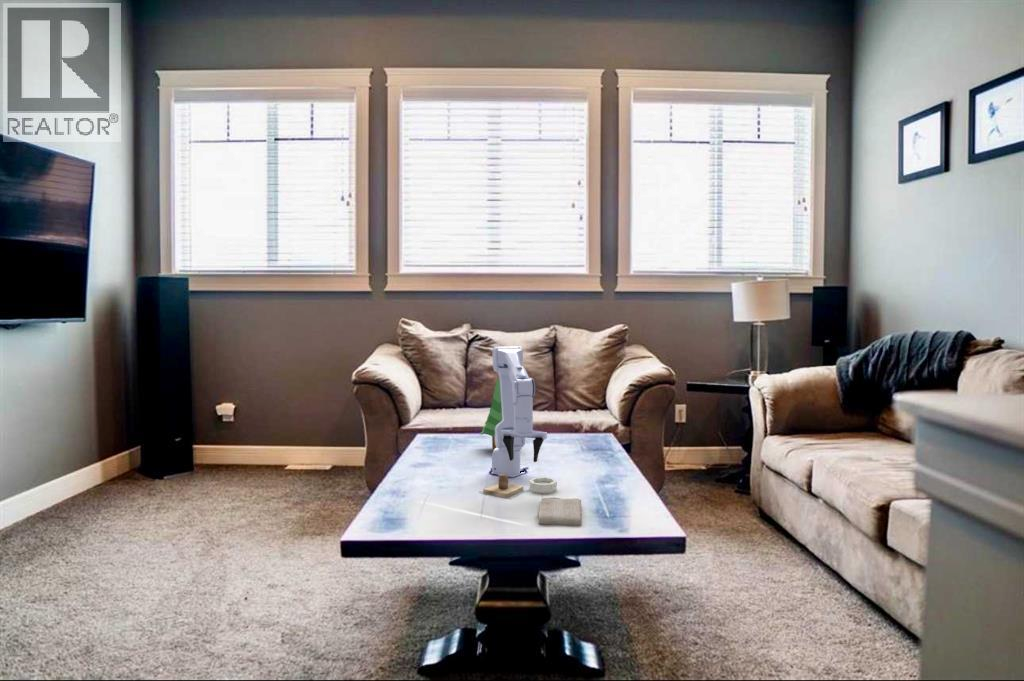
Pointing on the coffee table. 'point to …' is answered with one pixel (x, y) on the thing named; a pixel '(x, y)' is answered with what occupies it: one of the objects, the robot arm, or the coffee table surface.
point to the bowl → (543, 484)
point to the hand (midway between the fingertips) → (523, 460)
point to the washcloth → (560, 511)
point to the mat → (510, 496)
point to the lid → (503, 487)
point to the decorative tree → (494, 414)
